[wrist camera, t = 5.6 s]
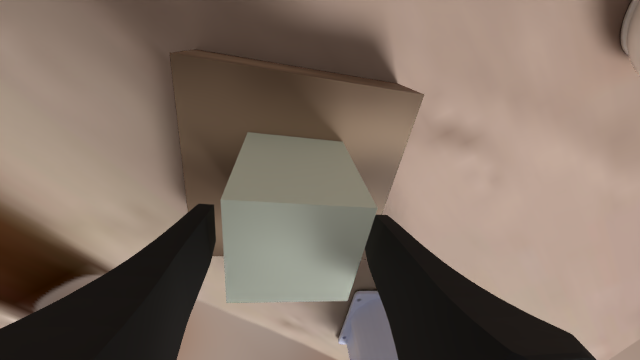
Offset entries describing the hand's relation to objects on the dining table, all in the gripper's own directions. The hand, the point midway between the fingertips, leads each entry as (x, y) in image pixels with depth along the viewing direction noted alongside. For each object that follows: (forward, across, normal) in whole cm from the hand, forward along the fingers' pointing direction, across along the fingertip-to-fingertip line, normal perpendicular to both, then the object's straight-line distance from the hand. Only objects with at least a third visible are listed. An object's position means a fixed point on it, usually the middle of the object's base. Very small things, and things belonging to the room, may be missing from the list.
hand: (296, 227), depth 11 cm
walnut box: (+8, 0, 0) cm, 8 cm away
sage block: (+4, 0, 0) cm, 4 cm away
